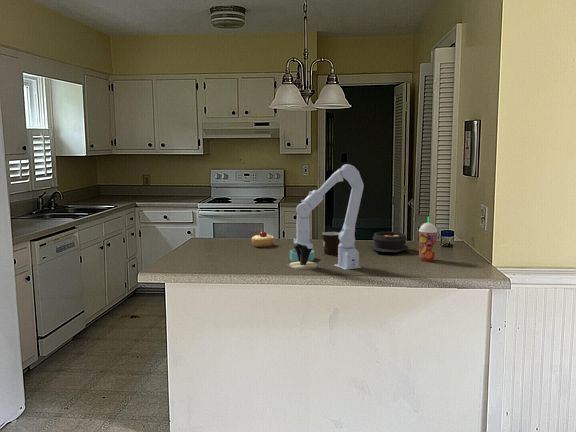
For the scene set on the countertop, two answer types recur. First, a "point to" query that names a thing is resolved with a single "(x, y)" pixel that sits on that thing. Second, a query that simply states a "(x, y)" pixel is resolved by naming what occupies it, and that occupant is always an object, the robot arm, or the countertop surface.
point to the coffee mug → (330, 243)
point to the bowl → (295, 257)
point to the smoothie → (427, 241)
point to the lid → (302, 265)
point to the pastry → (262, 240)
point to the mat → (302, 269)
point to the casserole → (389, 242)
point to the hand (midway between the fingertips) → (303, 262)
